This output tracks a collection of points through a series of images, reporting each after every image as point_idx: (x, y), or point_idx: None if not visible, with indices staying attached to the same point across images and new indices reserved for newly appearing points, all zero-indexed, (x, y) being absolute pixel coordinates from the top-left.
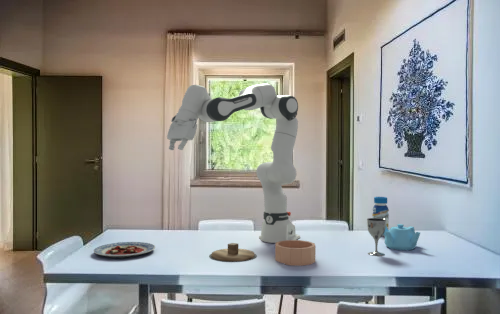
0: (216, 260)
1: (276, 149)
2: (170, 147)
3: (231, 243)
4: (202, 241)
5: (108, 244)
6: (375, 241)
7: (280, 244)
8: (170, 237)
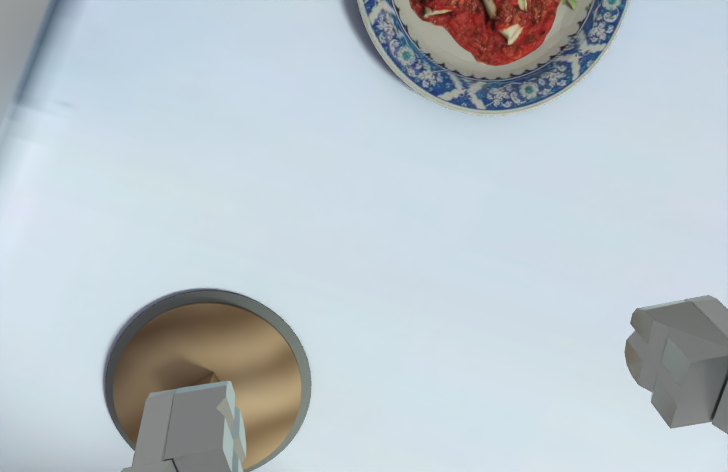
0: (162, 302)
1: None
2: (656, 325)
3: None
4: (538, 359)
5: None
6: None
7: None
8: (694, 249)
